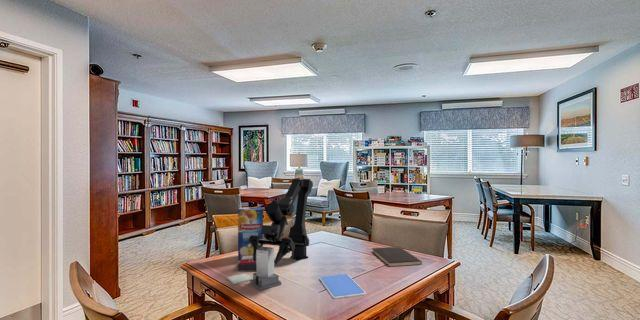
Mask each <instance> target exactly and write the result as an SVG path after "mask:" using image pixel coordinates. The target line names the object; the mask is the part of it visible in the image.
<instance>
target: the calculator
mask: <svg viewBox="0 0 640 320" xmlns="http://www.w3.org/2000/svg"><path fill="white" fill-rule="evenodd" d="M274 262H275V258H274ZM253 270H254V271H257V261H255V262H254V261H253V256H243V257H242V259H241V260H239V262H238V263H237V272H245V271H246V272H247V271H252V272H253Z"/></svg>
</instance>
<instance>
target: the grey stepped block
mask: <svg viewBox="0 0 640 320" xmlns="http://www.w3.org/2000/svg"><path fill="white" fill-rule="evenodd" d="M274 259H275V247H270V246H269V247H268V246H263V247H261V248H260V249H258V250H256V261H257V270H256V272H257V276H259V277H267V278H268V277H270V276H271V275H272V274H275V263H274Z"/></svg>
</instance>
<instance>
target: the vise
mask: <svg viewBox="0 0 640 320" xmlns="http://www.w3.org/2000/svg"><path fill="white" fill-rule="evenodd" d="M249 283H250V284H252V286H254V287H255V288H256V289H257V290H258V291H262V290H268V289H270V288H273V287H278V286H281V285H282V281H281V279H280V278H279V275H278V274H276V273H274V274H272V275H271V276H270V277H268V278H267V277H259V276H257V271H256V272H253V273H252V280H250V281H249Z"/></svg>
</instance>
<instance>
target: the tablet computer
mask: <svg viewBox="0 0 640 320" xmlns="http://www.w3.org/2000/svg"><path fill="white" fill-rule="evenodd" d="M318 279H319V281H320V282H321V283H322V285H323V286H324V288H325V289H326V291H327V292H328V293H329V296H331V298H332V299H334V300H338V299H344V298H353V297H360V296H366V295H367V292H366V291H365V290H364V289H363V288H362V287H361V286H360V285H359V284H358V283H357V282H356V281H355V280H354V279H353V278H352V277H351V276H350V275H349V274H347V273H346V274H345V273H344V274H343V273H342V274H337V275H328V276H320V277H319V278H318Z"/></svg>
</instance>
